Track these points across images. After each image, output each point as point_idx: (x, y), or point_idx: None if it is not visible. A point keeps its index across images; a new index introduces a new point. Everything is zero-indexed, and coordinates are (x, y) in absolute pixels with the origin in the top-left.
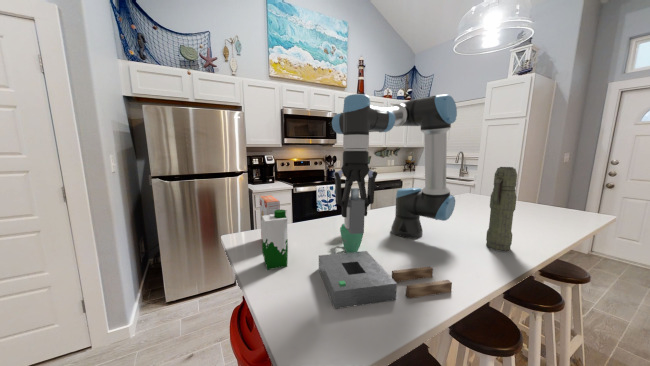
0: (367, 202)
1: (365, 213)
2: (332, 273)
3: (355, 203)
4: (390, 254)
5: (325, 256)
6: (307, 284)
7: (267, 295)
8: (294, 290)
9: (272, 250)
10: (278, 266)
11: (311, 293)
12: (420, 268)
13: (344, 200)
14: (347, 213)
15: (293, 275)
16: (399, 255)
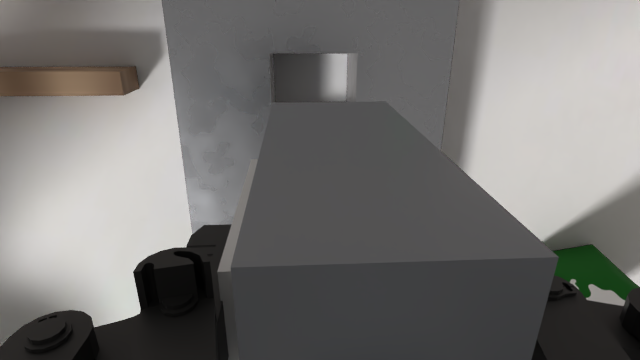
0: (143, 329)
1: (210, 241)
2: (423, 82)
3: (440, 228)
4: (72, 282)
5: None
6: (484, 122)
7: (635, 82)
8: (540, 93)
9: (634, 287)
10: (555, 253)
11: (488, 60)
12: None
13: (624, 353)
14: None
15: (514, 192)
16: (32, 268)
